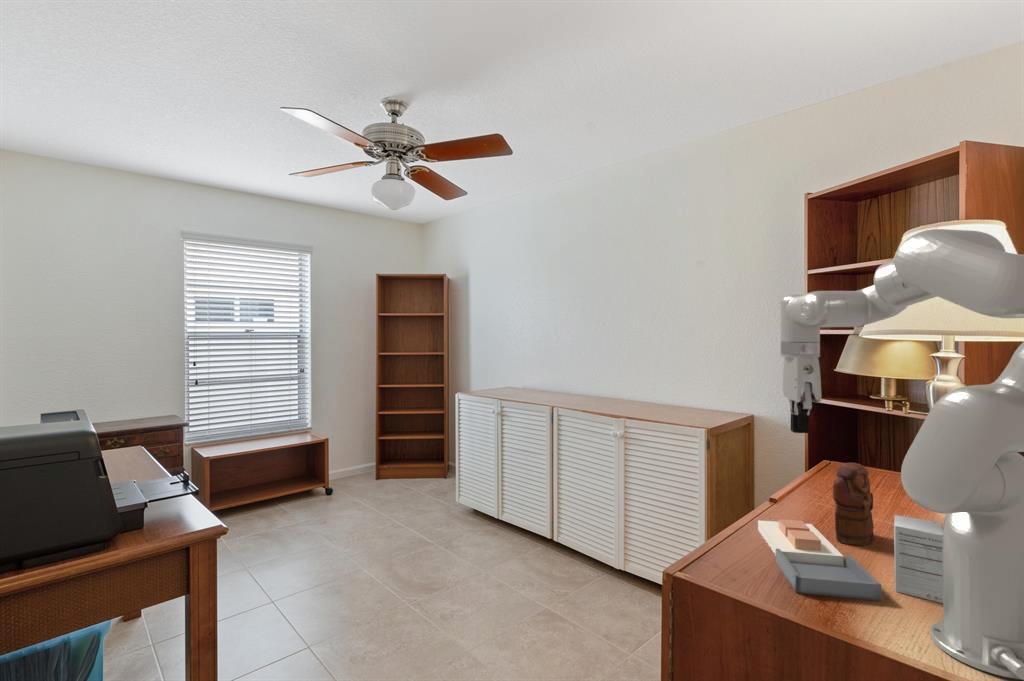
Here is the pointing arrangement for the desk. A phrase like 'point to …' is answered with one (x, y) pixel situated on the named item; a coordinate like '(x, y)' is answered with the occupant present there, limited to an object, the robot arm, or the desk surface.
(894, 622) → the desk surface
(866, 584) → the tray
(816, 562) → the board
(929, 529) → the supplement box
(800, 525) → the tile back
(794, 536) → the tile front
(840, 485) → the wooden figurine
